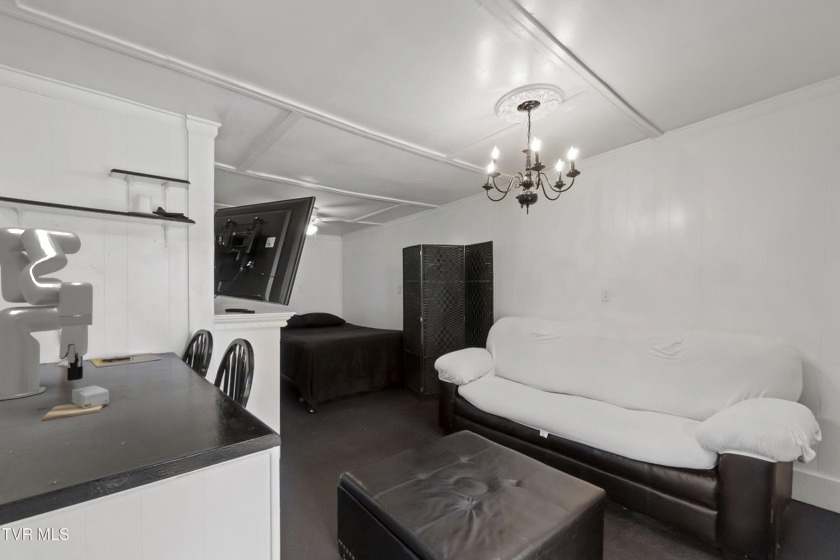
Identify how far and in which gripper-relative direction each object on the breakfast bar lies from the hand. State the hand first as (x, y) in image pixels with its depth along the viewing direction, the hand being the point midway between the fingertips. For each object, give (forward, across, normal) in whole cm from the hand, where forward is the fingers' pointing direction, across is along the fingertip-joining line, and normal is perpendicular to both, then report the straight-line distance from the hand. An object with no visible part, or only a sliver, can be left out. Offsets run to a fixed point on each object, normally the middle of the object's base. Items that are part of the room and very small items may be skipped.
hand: (75, 379), depth 107 cm
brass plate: (+9, +2, +1) cm, 9 cm away
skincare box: (+6, -6, +1) cm, 9 cm away
